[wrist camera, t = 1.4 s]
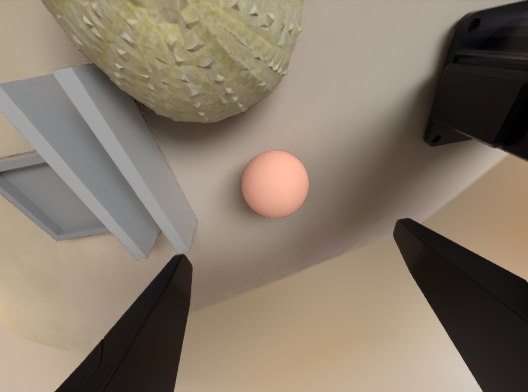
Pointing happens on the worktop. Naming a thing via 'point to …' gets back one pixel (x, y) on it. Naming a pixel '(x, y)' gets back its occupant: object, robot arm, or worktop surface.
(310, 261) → the worktop surface
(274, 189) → the ball
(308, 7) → the worktop surface
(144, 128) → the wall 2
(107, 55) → the sea urchin shell
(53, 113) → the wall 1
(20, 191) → the coaster
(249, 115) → the worktop surface
